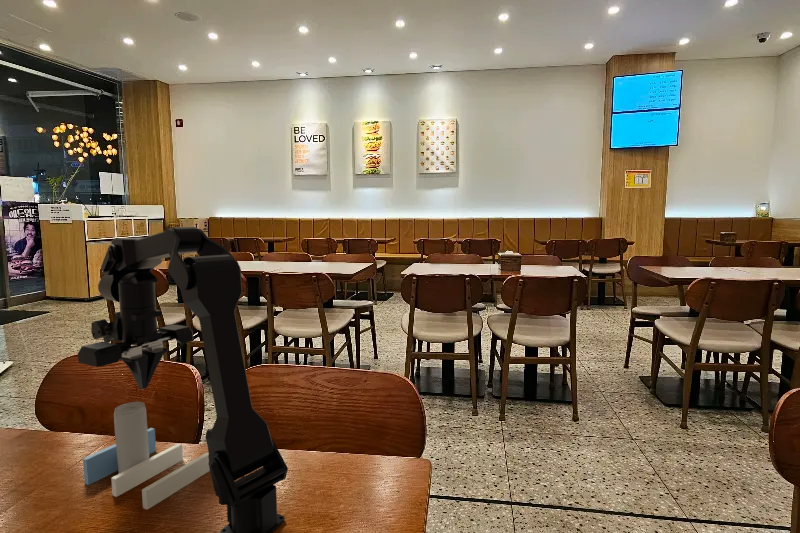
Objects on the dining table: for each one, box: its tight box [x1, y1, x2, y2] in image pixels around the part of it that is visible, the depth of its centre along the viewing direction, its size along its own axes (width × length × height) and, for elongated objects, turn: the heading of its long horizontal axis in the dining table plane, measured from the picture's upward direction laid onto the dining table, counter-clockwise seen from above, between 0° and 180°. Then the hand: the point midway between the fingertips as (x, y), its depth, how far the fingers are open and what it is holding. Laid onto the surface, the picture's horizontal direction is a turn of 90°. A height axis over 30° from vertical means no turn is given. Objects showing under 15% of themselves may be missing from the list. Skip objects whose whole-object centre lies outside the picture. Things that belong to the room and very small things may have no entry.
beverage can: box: [113, 401, 150, 474], centre depth 78 cm, size 5×5×12 cm
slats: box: [82, 427, 210, 510], centre depth 77 cm, size 16×12×4 cm
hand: (143, 388), depth 83 cm, fingers closed
